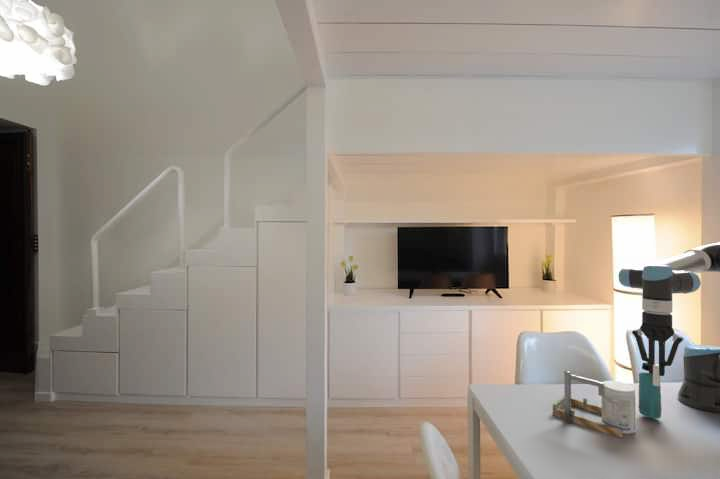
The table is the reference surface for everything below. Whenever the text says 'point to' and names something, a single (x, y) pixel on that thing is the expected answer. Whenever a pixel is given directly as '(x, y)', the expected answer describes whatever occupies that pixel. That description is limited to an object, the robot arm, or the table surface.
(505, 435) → the table surface
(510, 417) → the table surface
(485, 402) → the table surface
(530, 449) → the table surface
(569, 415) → the hook post
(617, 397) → the supplement tub
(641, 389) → the beverage bottle
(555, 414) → the bay board
